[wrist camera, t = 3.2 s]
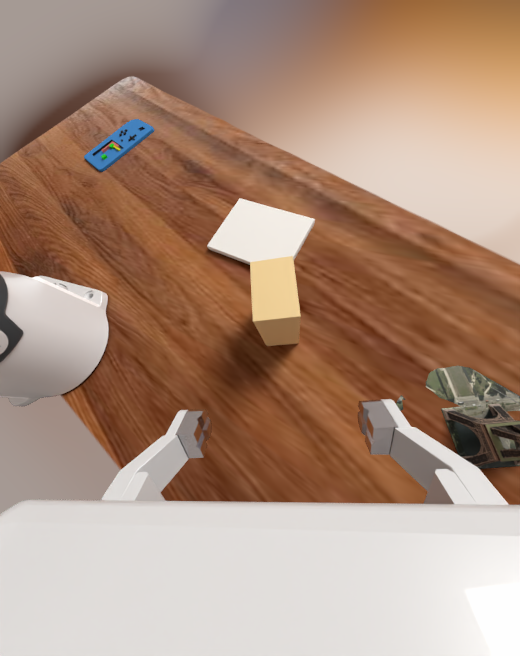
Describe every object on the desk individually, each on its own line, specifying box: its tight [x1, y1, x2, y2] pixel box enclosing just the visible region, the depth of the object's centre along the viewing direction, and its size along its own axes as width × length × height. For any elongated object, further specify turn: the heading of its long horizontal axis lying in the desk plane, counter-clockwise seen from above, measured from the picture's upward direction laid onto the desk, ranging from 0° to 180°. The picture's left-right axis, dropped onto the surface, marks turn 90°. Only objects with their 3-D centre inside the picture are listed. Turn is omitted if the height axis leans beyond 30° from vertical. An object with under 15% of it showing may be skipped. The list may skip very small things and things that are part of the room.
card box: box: [250, 256, 301, 346], centre depth 23 cm, size 4×6×9 cm, turn 3°
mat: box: [207, 199, 315, 265], centre depth 31 cm, size 13×10×1 cm
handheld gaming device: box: [84, 119, 154, 172], centre depth 46 cm, size 8×1×15 cm
